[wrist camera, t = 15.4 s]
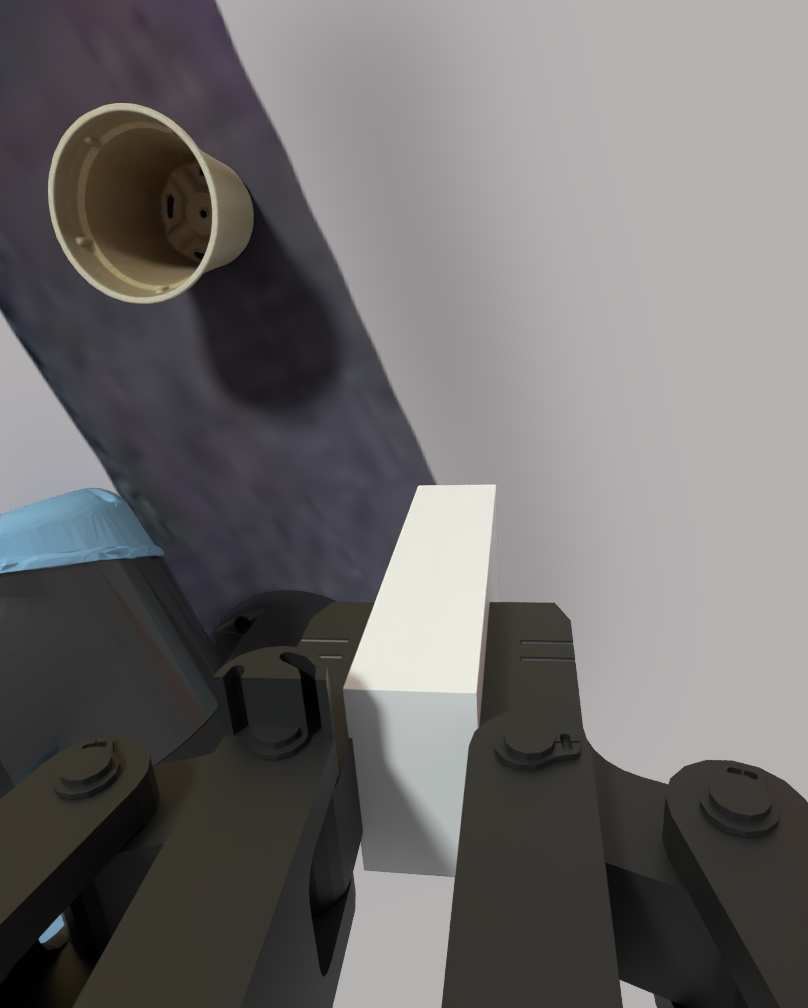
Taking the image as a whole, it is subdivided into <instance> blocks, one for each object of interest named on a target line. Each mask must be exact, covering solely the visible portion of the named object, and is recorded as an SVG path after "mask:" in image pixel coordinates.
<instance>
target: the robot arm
mask: <svg viewBox="0 0 808 1008" xmlns="http://www.w3.org/2000/svg"><path fill="white" fill-rule="evenodd" d="M164 555H165V554H164V552H163V550H162V549H161V548H160V547H158V546H155V544H154V543H153V542H152V540H151V539H150V537H149V536H148V534H147V533H146V531H145V530H144V528H143V527H142V525H141V524H140V522H139V521H138V519H137V518H136V516H135V514H134V513H133V511H132V510H131V508H130V507H129V505H128V504H127V503H126V502H125V501H124V500H123V499H122V498H121V497H120V496H118V495H117V494H115V493H113V492H111V491H108V490H104V489H99V488H87V489H81V490H77V491H73V492H69V493H66V494H62V495H59V496H56V497H52V498H49V499H46V500H43V501H40V502H36V503H33V504H31V505H27V506H24V507H21V508H18V509H15V510H12V511H9V512H6V513H3V514H0V1008H332V1007H333V1002H334V998H335V994H336V990H337V985H338V981H339V977H340V972H341V968H342V964H343V960H344V955H345V951H346V947H347V943H348V938H349V934H350V930H351V925H352V921H353V917H354V913H355V885H354V876H353V869H354V866H355V861H356V858H357V853H358V850H359V846H360V842H361V847H362V856H363V864H364V870H368V871H381V872H394V873H408V874H422V875H436V876H449V877H455V883H454V893H453V903H452V912H451V921H450V932H449V941H448V951H447V960H446V970H445V980H444V989H443V999H442V1008H623V1005H622V998H621V989H620V981H619V980H622V981H624V982H627V983H629V984H631V985H634V986H636V987H639V988H641V989H644V990H646V991H648V992H651V993H653V994H654V997H655V1003H656V1006H657V1008H808V802H807V801H806V800H805V799H804V798H803V797H802V796H801V795H800V794H799V793H798V792H797V791H795V790H794V789H793V788H792V787H791V786H790V785H789V784H788V783H787V782H785V781H784V780H782V779H780V778H778V777H776V776H774V775H772V774H771V773H769V772H766V771H765V770H763V769H761V768H759V767H755V766H751V765H747V764H743V763H739V762H735V761H727V760H723V761H722V760H705V761H701V762H698V763H694V764H691V765H688V766H684V767H683V768H682V769H681V770H680V771H679V772H677V773H676V774H675V775H674V776H673V777H672V778H670V781H669V785H668V784H665V783H661V782H658V781H654V780H651V779H647V778H643V777H640V776H637V775H635V774H632V773H630V772H627V771H624V770H622V769H620V768H618V767H617V766H615V765H613V764H611V763H610V762H608V761H606V760H605V759H604V758H603V757H602V756H601V755H599V754H598V753H597V752H596V751H595V750H594V749H593V747H592V746H591V744H590V743H589V741H588V740H587V739H586V736H585V732H584V729H583V724H582V715H581V706H580V698H579V689H578V680H577V672H576V663H575V654H574V646H573V638H572V629H571V621H570V619H569V618H568V617H567V616H566V615H565V614H564V613H563V612H562V611H561V609H560V608H559V607H558V606H557V605H556V604H555V603H525V602H522V603H521V602H499V586H498V545H497V502H496V485H429V486H418V488H417V491H416V493H415V496H414V499H413V501H412V504H411V507H410V510H409V512H408V515H407V518H406V520H405V523H404V526H403V528H402V531H401V534H400V536H399V539H398V542H397V545H396V547H395V550H394V553H393V555H392V558H391V561H390V563H389V566H388V569H387V571H386V574H385V577H384V580H383V582H382V585H381V588H380V590H379V593H378V596H377V598H376V601H375V603H345V602H336V601H334V600H331V599H329V598H326V597H323V596H320V595H317V594H313V593H308V592H303V591H290V590H286V591H274V592H268V593H264V594H260V595H257V596H255V597H252V598H250V599H248V600H246V601H244V602H243V603H241V604H240V605H238V606H237V607H235V608H234V609H233V610H232V611H231V612H230V613H229V614H228V615H227V616H226V617H225V618H224V619H223V620H222V621H221V622H220V623H219V624H218V626H217V627H216V628H215V629H214V630H213V631H212V633H211V634H210V636H209V637H208V635H207V634H206V632H205V630H204V628H203V627H202V625H201V623H200V621H199V620H198V618H197V616H196V614H195V613H194V611H193V609H192V607H191V606H190V604H189V602H188V600H187V599H186V597H185V595H184V593H183V591H182V590H181V588H180V586H179V584H178V583H177V581H176V579H175V577H174V576H173V574H172V572H171V570H170V569H169V567H168V565H167V563H166V562H165V560H164V558H163V556H164Z"/></svg>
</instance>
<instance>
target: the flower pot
mask: <svg viewBox="0 0 808 1008" xmlns="http://www.w3.org/2000/svg"><path fill="white" fill-rule="evenodd" d="M201 168H202V171H203V173H204V175H205V176H204V175H203V176H202V175H201V173H200V169H201ZM169 195H171V196H172V197H173V198H174V205H173V217H171V218H169V212H168V197H169ZM48 197H49V208H50V215H51V220H52V223H53V227H54V229H55V233H56V236H57V239H58V241H59V243H60V244H61V246H62V249H63V251H64V252H65V254H66V256H67V258H68V259H69V261H70V262H71V264H72V265H73V266H74V267H75V269H76V270H77V271H78V272H79V273H80V274H81V275H82V276H83V277H84V278H85V279H86V280H87V281H88V282H89V283H90V284H91V285H92V286H94V287H95V288H97V289H98V290H100V291H101V292H103V293H105V294H107V295H108V296H111V297H113V298H116V299H119V300H122V301H125V302H131V303H137V304H151V303H158V302H163V301H166V300H169V299H172V298H174V297H177V296H179V295H180V294H182V293H184V292H185V291H187V290H188V289H189V288H191V287H192V286H193V285H194V284H195V283H196V282H197V281H198V279H199V278H200V277H201V276H202V274H203V273H205V272H208V271H210V270H212V269H215V268H217V267H221V266H224V265H226V264H228V263H230V262H232V261H233V260H234V259H236V258H237V257H238V256H239V255H240V254H241V253H242V251H243V250H244V249H245V247H246V246H247V244H248V242H249V240H250V237H251V233H252V229H253V222H254V213H253V205H252V201H251V197H250V195H249V193H248V191H247V189H246V187H245V186H244V184H243V182H242V181H241V179H240V178H239V177H238V175H237V174H236V173H235V172H234V171H233V170H232V169H231V168H230V167H228V166H227V165H225V164H223V163H221V162H219V161H218V160H216V159H214V158H212V157H211V156H209V155H207V154H206V153H204V152H202V151H201V150H200V149H199V148H198V146H197V145H196V143H195V142H194V141H193V140H192V139H191V137H190V136H189V135H188V134H187V133H186V132H185V131H184V130H183V129H182V128H181V127H179V126H178V125H177V124H176V123H175V122H173V121H172V120H170V119H169V118H167V117H166V116H164V115H163V114H161V113H159V112H157V111H155V110H152V109H150V108H147V107H143V106H140V105H136V104H126V103H116V104H109V105H105V106H102V107H99V108H97V109H95V110H92V111H90V112H89V113H86V114H84V115H83V116H82V117H80V118H79V119H78V120H77V121H76V122H75V123H74V124H73V125H71V127H70V128H69V129H68V130H67V131H66V133H65V134H64V136H63V137H62V139H61V141H60V143H59V145H58V147H57V149H56V151H55V153H54V156H53V159H52V165H51V169H50V173H49V182H48ZM202 210H205V211H206V214H207V215H206V217H205V218H203V217H202V216H201V211H202ZM195 251H196V252H200V253H205V255H204V257H203V259H202V260H200V259H199V258H197V257H196V256H195Z"/></svg>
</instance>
